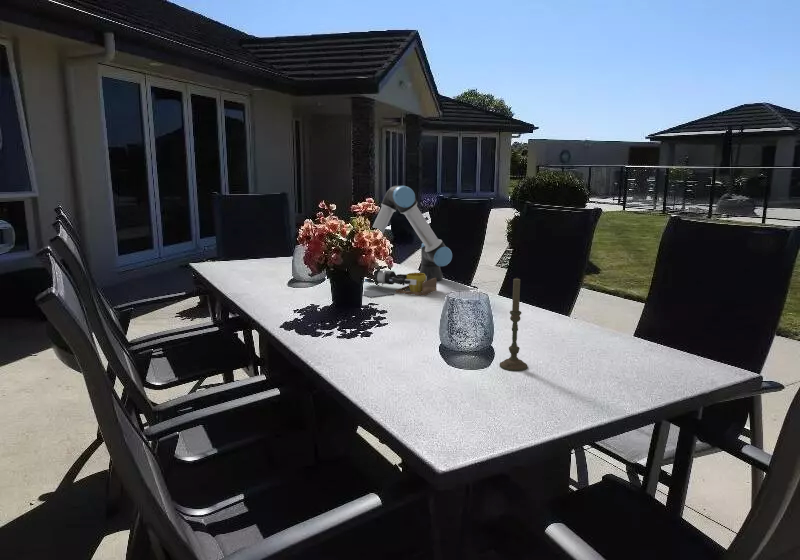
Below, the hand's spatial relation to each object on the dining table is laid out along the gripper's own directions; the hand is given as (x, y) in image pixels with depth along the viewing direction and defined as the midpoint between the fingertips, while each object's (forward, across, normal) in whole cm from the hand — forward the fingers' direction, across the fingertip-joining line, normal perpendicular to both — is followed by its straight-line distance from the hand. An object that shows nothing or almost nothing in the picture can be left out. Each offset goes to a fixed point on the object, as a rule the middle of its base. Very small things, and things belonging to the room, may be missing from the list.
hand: (421, 280), depth 303 cm
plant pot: (-3, 0, -7) cm, 7 cm away
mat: (-20, +16, -6) cm, 26 cm away
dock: (-3, 0, -6) cm, 7 cm away
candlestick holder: (+78, +99, -7) cm, 126 cm away
